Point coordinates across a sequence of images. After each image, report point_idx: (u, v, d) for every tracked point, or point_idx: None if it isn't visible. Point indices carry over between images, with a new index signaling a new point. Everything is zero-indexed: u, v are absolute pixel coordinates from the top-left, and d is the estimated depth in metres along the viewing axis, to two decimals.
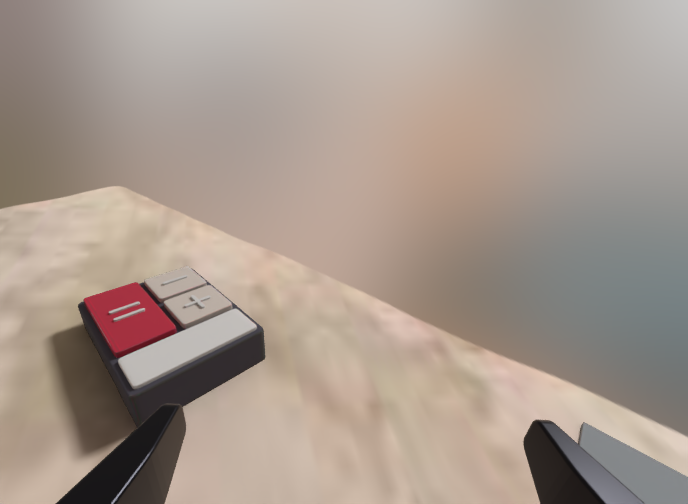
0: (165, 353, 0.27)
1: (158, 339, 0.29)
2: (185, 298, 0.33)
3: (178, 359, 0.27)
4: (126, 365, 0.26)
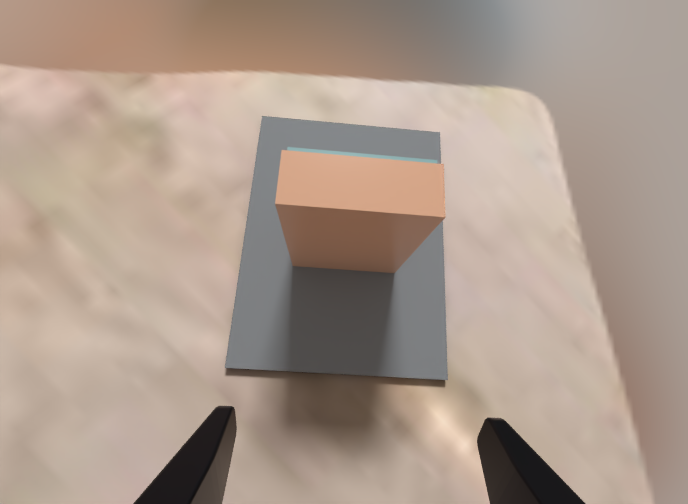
0: None
1: None
2: None
3: None
4: None
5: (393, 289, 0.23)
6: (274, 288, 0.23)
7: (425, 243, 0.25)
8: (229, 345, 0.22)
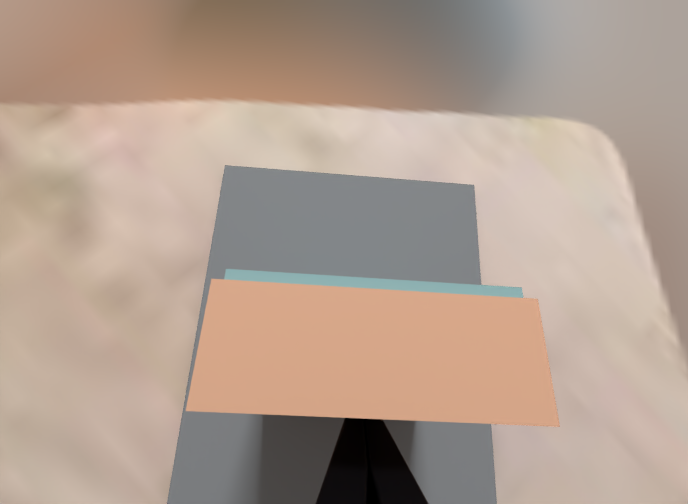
0: None
1: None
2: None
3: None
4: None
5: (415, 433, 0.16)
6: (236, 438, 0.15)
7: None
8: None
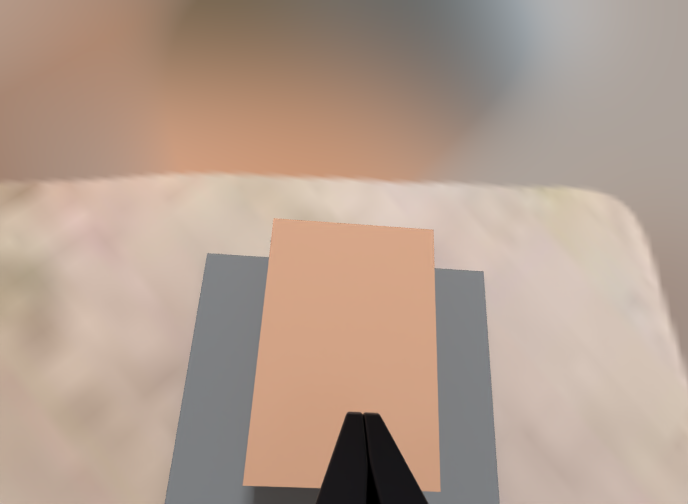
0: None
1: None
2: None
3: None
4: None
5: None
6: None
7: (468, 480, 0.15)
8: None
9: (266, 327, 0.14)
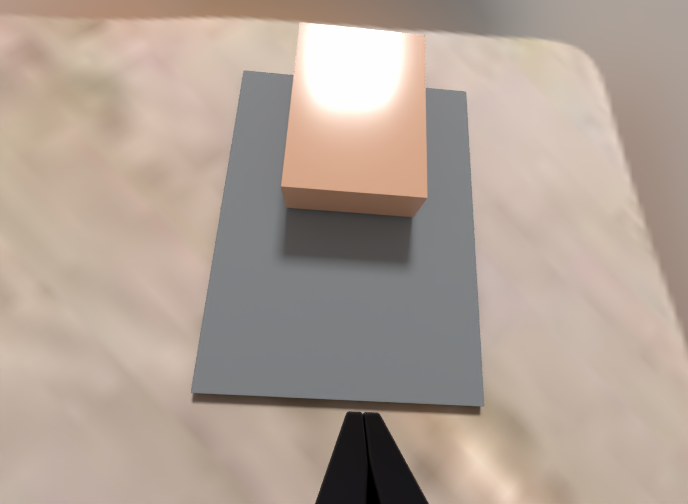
0: None
1: None
2: None
3: None
4: None
5: (411, 288, 0.18)
6: (257, 287, 0.18)
7: (451, 229, 0.19)
8: (197, 362, 0.16)
9: (296, 91, 0.18)
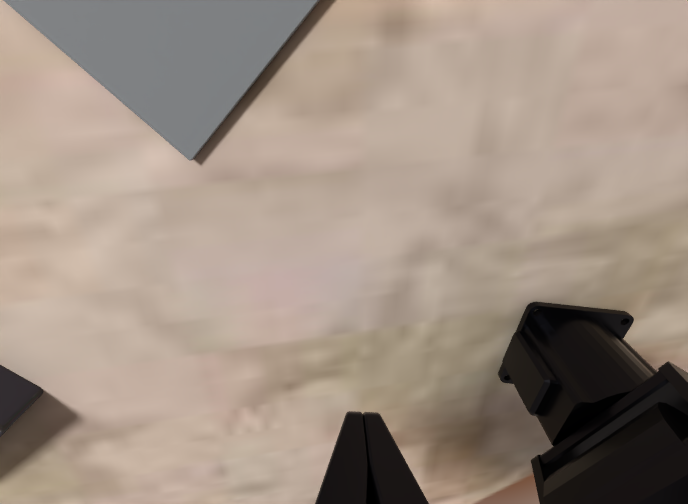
0: None
1: None
2: None
3: None
4: None
5: None
6: (123, 36, 0.15)
7: None
8: (168, 140, 0.17)
9: None
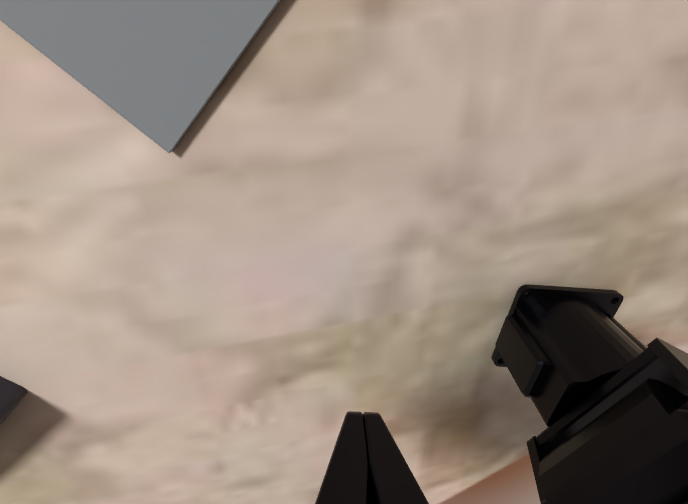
0: None
1: None
2: None
3: None
4: None
5: None
6: (90, 22, 0.14)
7: None
8: (144, 132, 0.16)
9: None
